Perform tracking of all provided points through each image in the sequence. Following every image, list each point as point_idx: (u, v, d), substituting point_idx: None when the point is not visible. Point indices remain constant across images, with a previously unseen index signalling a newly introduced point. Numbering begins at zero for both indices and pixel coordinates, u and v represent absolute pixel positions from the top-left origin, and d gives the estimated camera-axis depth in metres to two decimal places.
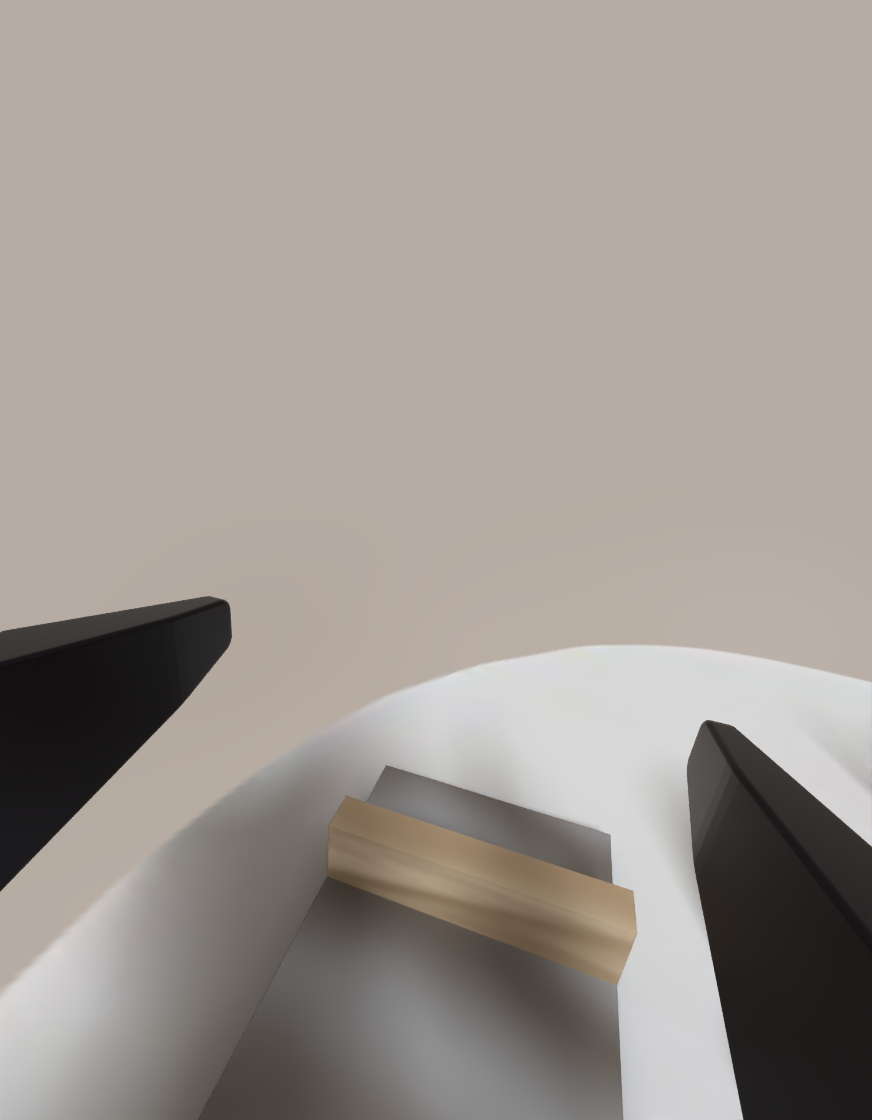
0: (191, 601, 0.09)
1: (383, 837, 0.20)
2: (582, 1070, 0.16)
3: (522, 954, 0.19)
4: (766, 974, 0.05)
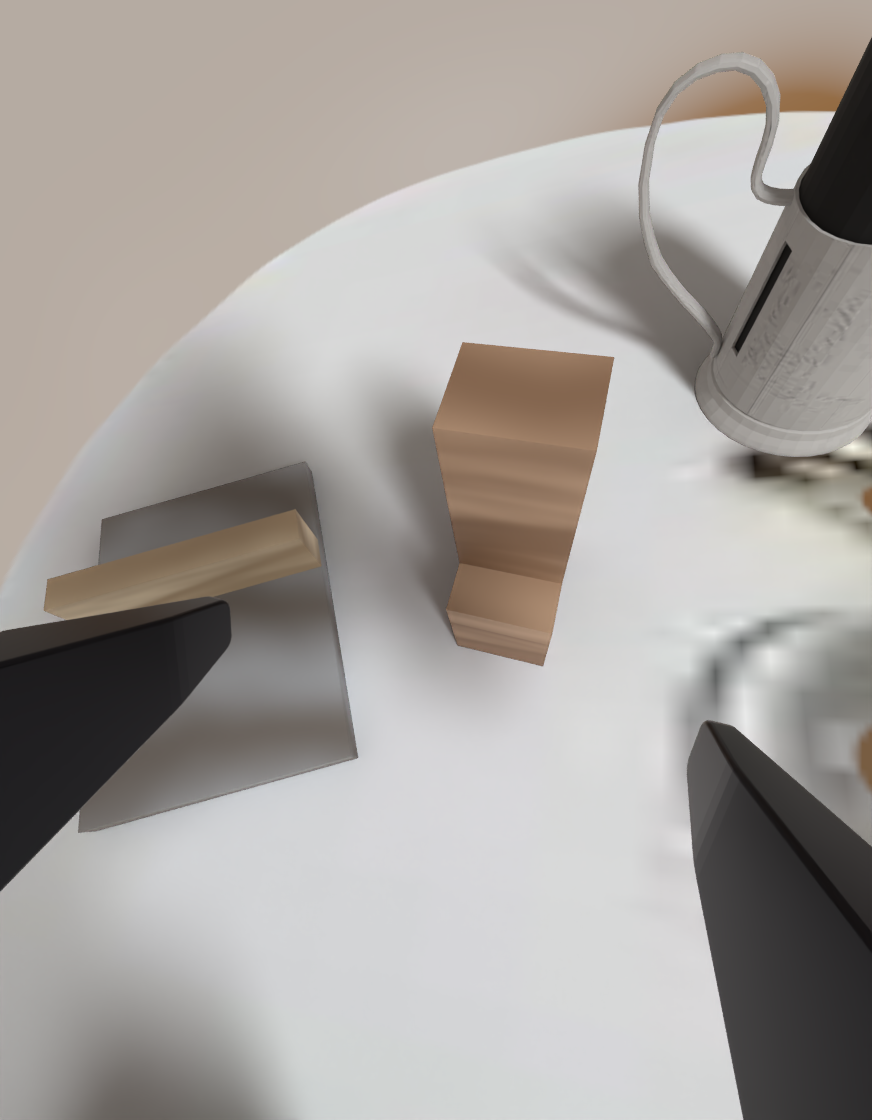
0: (191, 601, 0.09)
1: (92, 591, 0.22)
2: (305, 626, 0.24)
3: (254, 588, 0.25)
4: (766, 974, 0.05)
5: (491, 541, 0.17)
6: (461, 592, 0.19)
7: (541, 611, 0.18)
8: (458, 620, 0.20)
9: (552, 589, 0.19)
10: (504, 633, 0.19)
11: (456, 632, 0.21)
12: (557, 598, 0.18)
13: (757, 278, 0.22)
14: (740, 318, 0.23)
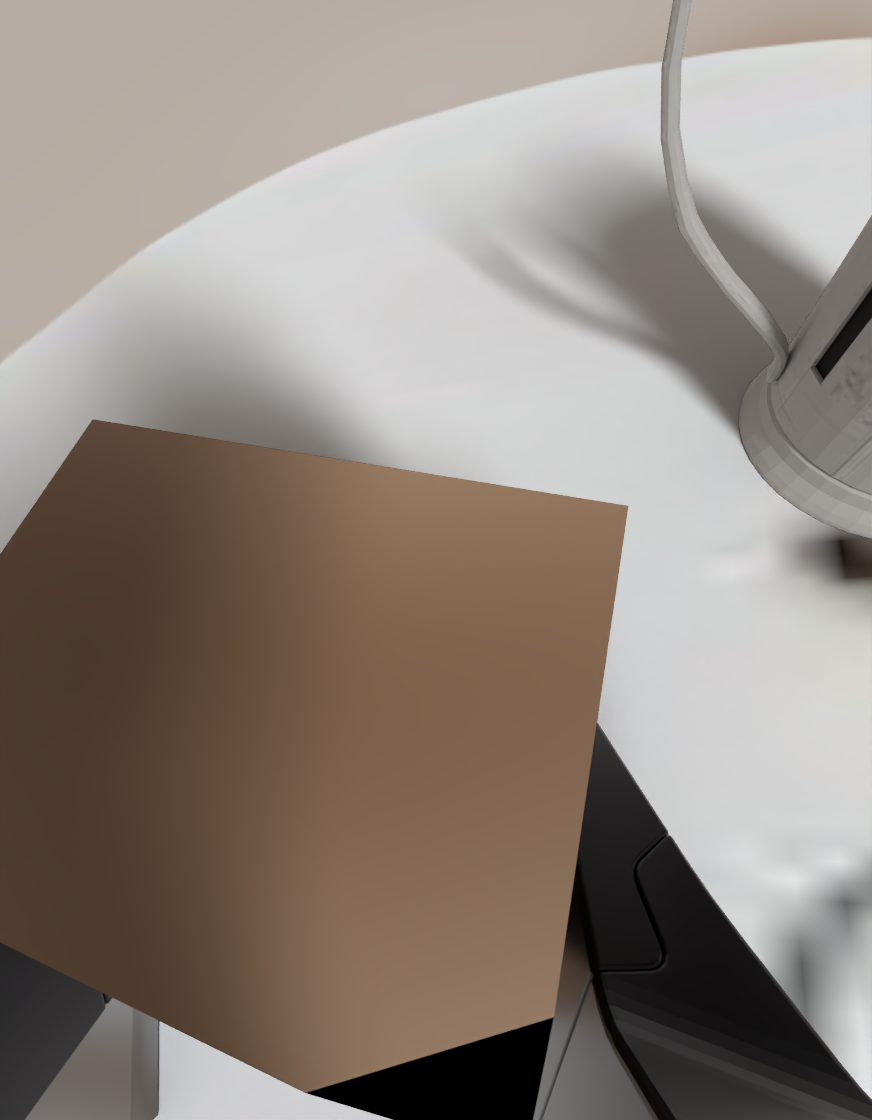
0: None
1: None
2: None
3: None
4: None
5: None
6: None
7: None
8: None
9: None
10: None
11: None
12: None
13: None
14: (830, 320, 0.14)
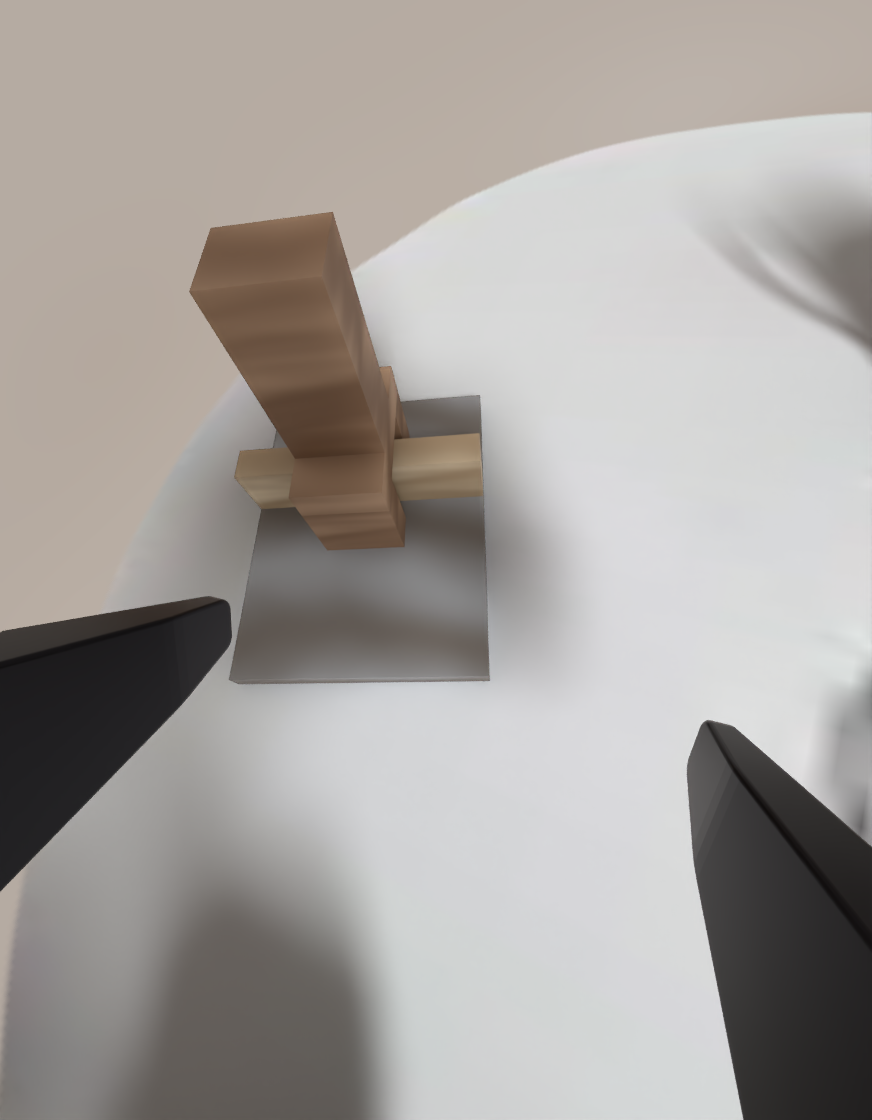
0: (191, 601, 0.09)
1: (279, 469, 0.24)
2: (460, 548, 0.24)
3: (414, 502, 0.26)
4: (767, 975, 0.05)
5: (304, 420, 0.19)
6: (300, 481, 0.21)
7: (370, 477, 0.21)
8: (306, 510, 0.22)
9: (377, 458, 0.21)
10: (349, 511, 0.22)
11: (315, 530, 0.23)
12: (382, 464, 0.21)
13: None
14: None
